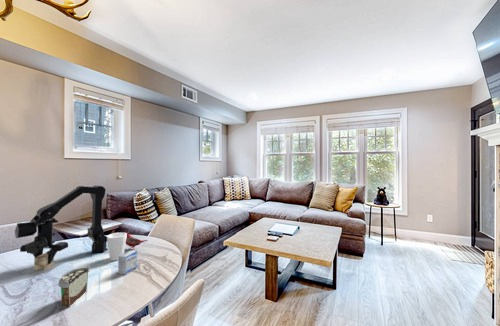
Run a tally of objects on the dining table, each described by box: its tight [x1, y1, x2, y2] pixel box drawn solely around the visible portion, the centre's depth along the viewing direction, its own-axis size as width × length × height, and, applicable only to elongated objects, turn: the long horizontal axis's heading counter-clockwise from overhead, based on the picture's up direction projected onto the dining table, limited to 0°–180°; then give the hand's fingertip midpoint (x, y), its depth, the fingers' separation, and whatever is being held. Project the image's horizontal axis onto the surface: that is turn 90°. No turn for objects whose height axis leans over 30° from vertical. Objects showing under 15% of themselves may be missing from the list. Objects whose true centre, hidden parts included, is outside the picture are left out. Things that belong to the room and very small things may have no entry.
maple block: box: [33, 252, 55, 270], centre depth 110 cm, size 4×6×6 cm
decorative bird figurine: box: [125, 232, 148, 249], centre depth 136 cm, size 3×18×10 cm, turn 82°
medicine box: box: [117, 249, 138, 275], centre depth 109 cm, size 8×4×9 cm, turn 168°
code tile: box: [21, 261, 66, 274], centre depth 110 cm, size 12×12×1 cm
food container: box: [57, 266, 90, 308], centre depth 85 cm, size 12×6×10 cm, turn 5°
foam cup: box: [106, 232, 127, 262], centre depth 123 cm, size 10×9×13 cm
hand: (44, 263), depth 110 cm, fingers closed on maple block, 4 cm apart
